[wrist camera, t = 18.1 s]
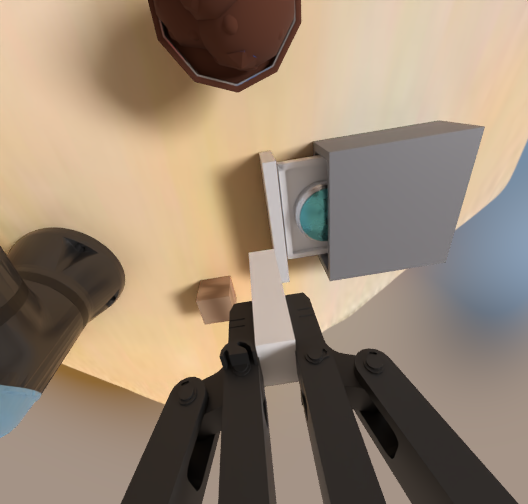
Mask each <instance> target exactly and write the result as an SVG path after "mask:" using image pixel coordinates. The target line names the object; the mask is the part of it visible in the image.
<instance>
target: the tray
mask: <svg viewBox="0 0 528 504" xmlns="http://www.w3.org/2000/svg"><path fill="white" fill-rule="evenodd" d="M259 157H260V164H261V171H262V178H263V185H264V192H265V199H266V205H267V212H268V219H269V226H270V233H271V240H272V247H273V249H274V252H275V256H276V260H277V264H278V269H279V273H280V277H281V281H282V283H285V282H290V281H289V272H288V263H287V257H288V259H294V258H301V257H307V256H313V255H319V254H325V253H328V241H315V240H311V239H309V238H308V237H306V236H305V235H304V234H303V233H302V232H301V231H300V229H299V227H298V225H297V223H296V220H295V217H294V204H295V201H296V199H297V197H298V195H299V194H300V192H301V191H302V190H303V189H304V188H305V187H307V186H308V185H309V184H311V183H313V182H315V181H319V180H325V179H327V160H326V159H324V158H323V157H322V156H321V155H317V156H311V157H305V158H299V159H293V160H287V161H281V162H277V166H276V160H275V158H274V156H273V154H272V152H271V151H265V152H259ZM277 171H278V174H277ZM278 180H279V183H278ZM279 188H280V192H279ZM280 197H281V201H280ZM281 206H282V210H281ZM282 215H283V219H282ZM283 224H284V228H283ZM284 233H285V236H284ZM285 242H286V245H285ZM286 251H287V254H286Z"/></svg>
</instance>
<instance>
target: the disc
mask: <svg viewBox="0 0 528 504" xmlns="http://www.w3.org/2000/svg"><path fill="white" fill-rule="evenodd" d="M294 217H295V220H296V223H297V225H298V227H299V229H300V231H301V232H302V233H303V234H304V235H305V236H306V237H308V238H309V239H311V240H315V241H328V183H327V179H325V180H319V181H315V182H313V183H311V184H309V185H308V186H307V187H305V188H304V189H303V190H302V191H301V192H300V194H299V195H298V197H297V199H296V201H295V204H294Z"/></svg>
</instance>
